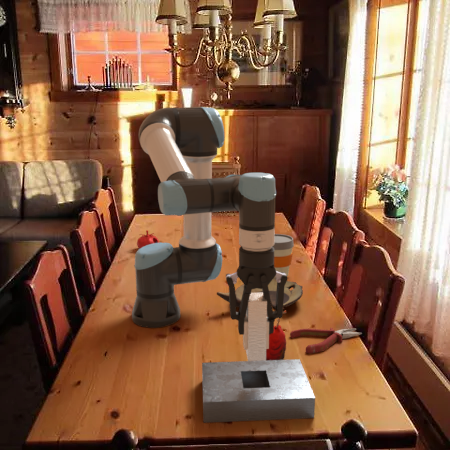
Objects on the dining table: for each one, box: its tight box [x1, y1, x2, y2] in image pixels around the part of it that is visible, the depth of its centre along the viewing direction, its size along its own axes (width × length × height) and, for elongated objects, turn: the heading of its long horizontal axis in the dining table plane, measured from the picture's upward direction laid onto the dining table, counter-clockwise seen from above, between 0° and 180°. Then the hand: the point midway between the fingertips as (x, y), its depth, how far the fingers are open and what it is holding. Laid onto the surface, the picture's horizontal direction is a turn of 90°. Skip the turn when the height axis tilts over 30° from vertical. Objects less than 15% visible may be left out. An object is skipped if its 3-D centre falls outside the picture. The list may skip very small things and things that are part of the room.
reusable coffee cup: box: [273, 233, 295, 279], centre depth 190 cm, size 13×13×15 cm
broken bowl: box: [216, 279, 304, 309], centre depth 165 cm, size 22×30×8 cm
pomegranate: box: [136, 230, 160, 250], centre depth 223 cm, size 10×10×9 cm
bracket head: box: [201, 358, 316, 424], centre depth 113 cm, size 16×24×5 cm, turn 93°
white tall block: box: [245, 292, 268, 361], centre depth 109 cm, size 5×4×14 cm
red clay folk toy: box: [266, 307, 287, 360], centre depth 130 cm, size 8×7×15 cm
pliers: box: [289, 327, 363, 355], centre depth 141 cm, size 12×20×3 cm, turn 110°
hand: (255, 346), depth 110 cm, fingers closed on white tall block, 4 cm apart
